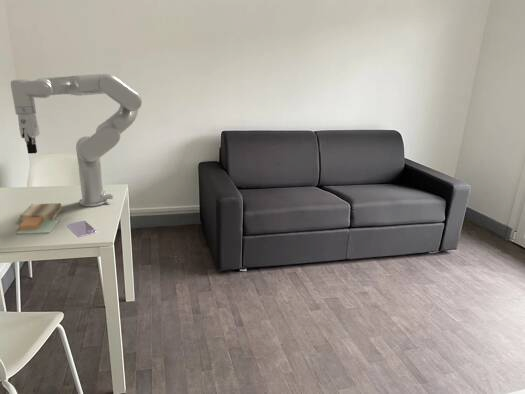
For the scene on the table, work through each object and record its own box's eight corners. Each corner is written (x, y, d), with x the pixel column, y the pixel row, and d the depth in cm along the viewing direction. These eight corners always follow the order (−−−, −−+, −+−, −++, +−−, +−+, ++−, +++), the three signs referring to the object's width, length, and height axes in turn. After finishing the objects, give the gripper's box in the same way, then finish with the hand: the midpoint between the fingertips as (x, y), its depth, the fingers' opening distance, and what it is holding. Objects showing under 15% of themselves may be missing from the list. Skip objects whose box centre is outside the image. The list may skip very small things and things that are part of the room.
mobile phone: (85, 219, 172) (98, 231, 162) (85, 221, 173) (98, 233, 162) (66, 223, 167) (78, 236, 157) (66, 225, 168) (78, 238, 157)
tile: (43, 220, 170) (42, 216, 169) (36, 229, 162) (35, 225, 161) (27, 221, 169) (26, 217, 168) (19, 230, 160) (19, 225, 160)
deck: (61, 209, 184) (60, 203, 183) (52, 221, 171) (51, 214, 170) (33, 210, 182) (32, 203, 181) (21, 222, 169) (19, 215, 168)
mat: (59, 221, 171) (59, 220, 171) (49, 233, 160) (49, 232, 160) (28, 221, 169) (28, 221, 169) (16, 234, 158) (16, 233, 158)
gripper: (29, 112, 164) (37, 156, 170) (40, 107, 177) (46, 149, 183) (9, 112, 162) (17, 157, 168) (21, 108, 176) (28, 149, 182)
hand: (32, 152), depth 176 cm, fingers closed
